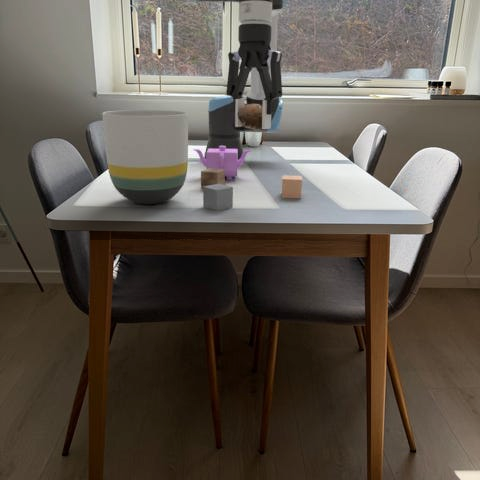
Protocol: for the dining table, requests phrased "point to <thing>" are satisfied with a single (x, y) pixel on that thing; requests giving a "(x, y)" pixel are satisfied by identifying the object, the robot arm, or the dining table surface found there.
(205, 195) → the slate cube
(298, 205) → the dining table surface
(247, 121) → the mushroom
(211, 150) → the teapot
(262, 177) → the dining table surface
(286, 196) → the terracotta cube
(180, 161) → the planter
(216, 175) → the walnut cube
